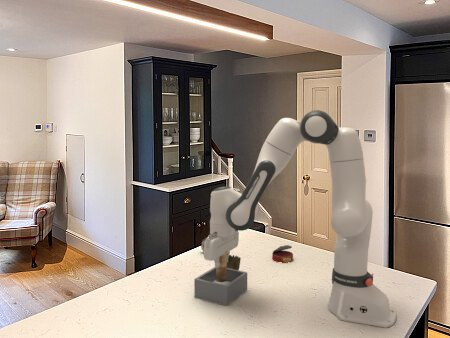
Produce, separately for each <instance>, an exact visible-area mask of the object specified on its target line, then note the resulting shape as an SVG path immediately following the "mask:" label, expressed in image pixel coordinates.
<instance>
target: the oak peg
mask: <svg viewBox="0 0 450 338" xmlns="http://www.w3.org/2000/svg"><path fill="white" fill-rule="evenodd" d="M219 262H221V266H220V267H219V268H217V267H216V281H217V282H225V281H226V280H227V250H226V251H225V253H224V254H223V255H222V256H220V259H219Z"/></svg>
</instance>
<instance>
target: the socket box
mask: <svg viewBox="0 0 450 338" xmlns="http://www.w3.org/2000/svg"><path fill="white" fill-rule="evenodd" d="M193 282H194V287H193V288H194V298H197V299H201V300H203V301H208V302H211V303H214V304H217V305H218V304H219V305H222V306H226V307H227V306H229V305H230V304H231V303H232V302H234V301H235V300H236V299H237V298H239V297H240V296H241V295H242V294H244V293H245V292H246V291H247V290H248V272H247V271H243V270H240V269H239V270H234V269H230V268H227V280H226V281H225V282H217V281H216V267H215V266H214V267H212V268H211V269H209V270H207V271H205V272H204V273H202V274H200V275H199V276H197V277H195V278H194V281H193Z"/></svg>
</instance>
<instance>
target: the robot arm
mask: <svg viewBox="0 0 450 338" xmlns="http://www.w3.org/2000/svg"><path fill="white" fill-rule="evenodd" d="M305 141H307V142H310V143H312V144H320V145H325V146H326V148H327V151H328V158H329V166H330V167H329V168H330V174H331V175H330V177H331V184H332V185H331V219H330V225H331V228H332V229H333V231H334V232H335V233H336V240H335V243H334V255H333V256H334V257H333V268H332V271H331V284H332V286H331V293H330V296H329V300H328V303H327V309H328V310H329V311H330V312H331V313H333V314H334V315H336V316H337V318H338V319H339V320H340V321H345V322H349V323H357V324H361V325H362V324H363V325H368V326H369V325H370V326H373V327H374V326H375V327H381V328H390V327H392V326H393V325H394V324H395V323H396V320H397V312H396V310H395V309H394V308H393V307H391V306H390V302H389V298H388V296H387V294H386V293H384V292H383V291H382V290H381V289H380V288H379V287H377V286H376V285H375V284H374V273H373V272H372V273H370V272H369V271H368V264H369V263H368V261H369V247H370V241H371V234H372V226H373V225H372V223H373V212H374V211H373V207H372V205H371V203H370V201H369V200H367V199H366V185H367V179H366V169H365V161H364V160H365V159H364V152H363V147H362V142H361V139H360V137H359V133H358V132H357V130H356V129H354V128H352V127H349V126H348V127H346V126H343V127H339V126H338V125H337V124H336V122H335V121H334V120H333V118H332V116H331V115H330V114H328V113H327V112H326V111H324V110H318V109H314V110H311V111H308V112H307V113H306V114H304V116H303V117H302V118H301V120H296V119H294V118H291V117H283V118H281V119H279V120H278V121H277V122H276V124H274V127H273V128H272V129H271V131H270V132H269V134H268V135H267V137H266V139H265V141H264V142H263V144H262V147H261V150H260V152H259V155H258V156H257V157H258V158H257V161H256V164H255V167H254V170H253V172H252V175H251V178H250V179H249V181H248V183H247V185H246V186H245V188H244V190H243V191H242V193H241V192H239V191H238V190H235V189H234V188H233V187H232V186H228V185H227V186H219V187H217V188H215V189H213V190H212V191H211V195H210V200H209V201H210V205H209V207H210V208H209V212H210V220H209V234H208V236H207V237H208V238H207V237H206V238H207V239H206V241H205V244H204V252H203V258H204V260H206V261H211V262H214V267H217V268H219V267H220V266H221V262H219V259H220V256H222V255H223V254H224V253H225V251H226V250H227V262H228V257H229V255H231V254H230V253H231V251H232V250H234V249H235V248H237V247H238V245H239V242H240V240H239V239H240V238H239V237H240V232H239V231H241V232H242V231H243V232H244V231H247V230H249V229H250V228H251V227H252V226H253V224H254V222H255V219H256V218H257V216H258V214H259V211H260V205H259V202H260V200H261V198H262V196H263V195H264V193H265V191H266V190H267V188H268V186H269V185H270V184H271V182H272V181H273V180H274V179H275V178H276V177H277V176H278V175H279V174H280V173H281V172H282V171H283V170H284V169H285V168H286V167H287V166H288V165H287V164H289V162H290V160H291V159H292V157H293V156H294V154H295V153H296V150H297V148H298V147H299V146H300V144H301V143H303V142H305Z"/></svg>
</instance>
